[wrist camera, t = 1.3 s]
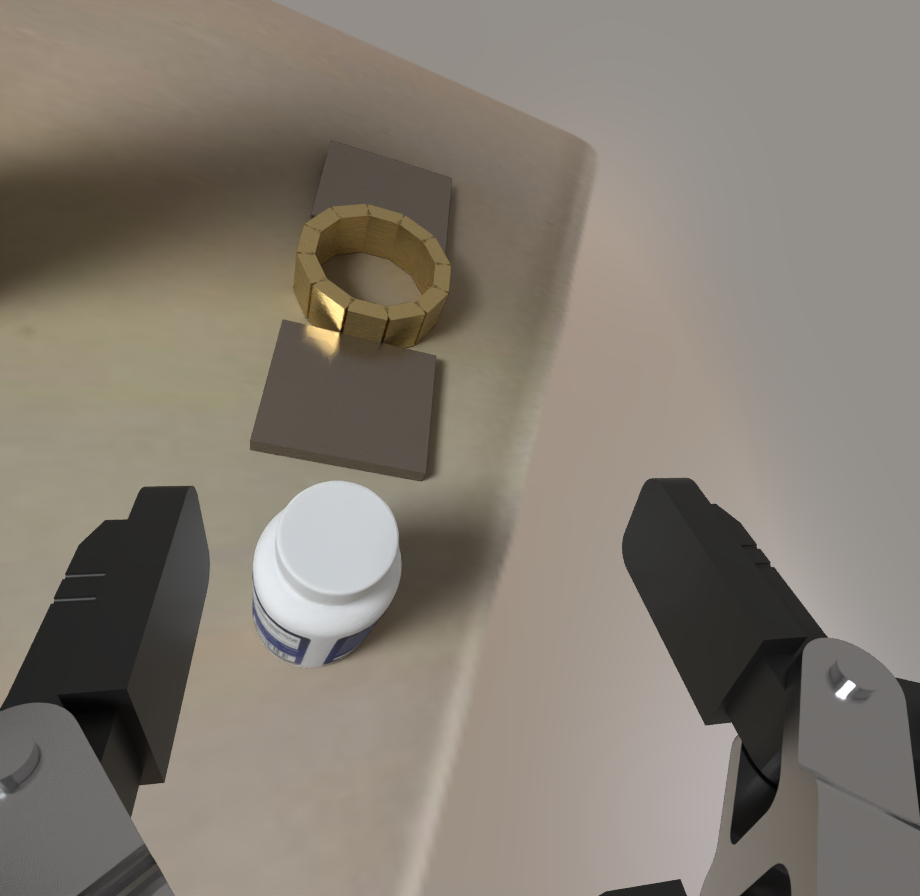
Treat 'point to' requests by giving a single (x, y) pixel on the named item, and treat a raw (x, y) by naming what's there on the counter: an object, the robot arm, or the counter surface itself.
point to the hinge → (361, 324)
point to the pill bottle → (325, 573)
